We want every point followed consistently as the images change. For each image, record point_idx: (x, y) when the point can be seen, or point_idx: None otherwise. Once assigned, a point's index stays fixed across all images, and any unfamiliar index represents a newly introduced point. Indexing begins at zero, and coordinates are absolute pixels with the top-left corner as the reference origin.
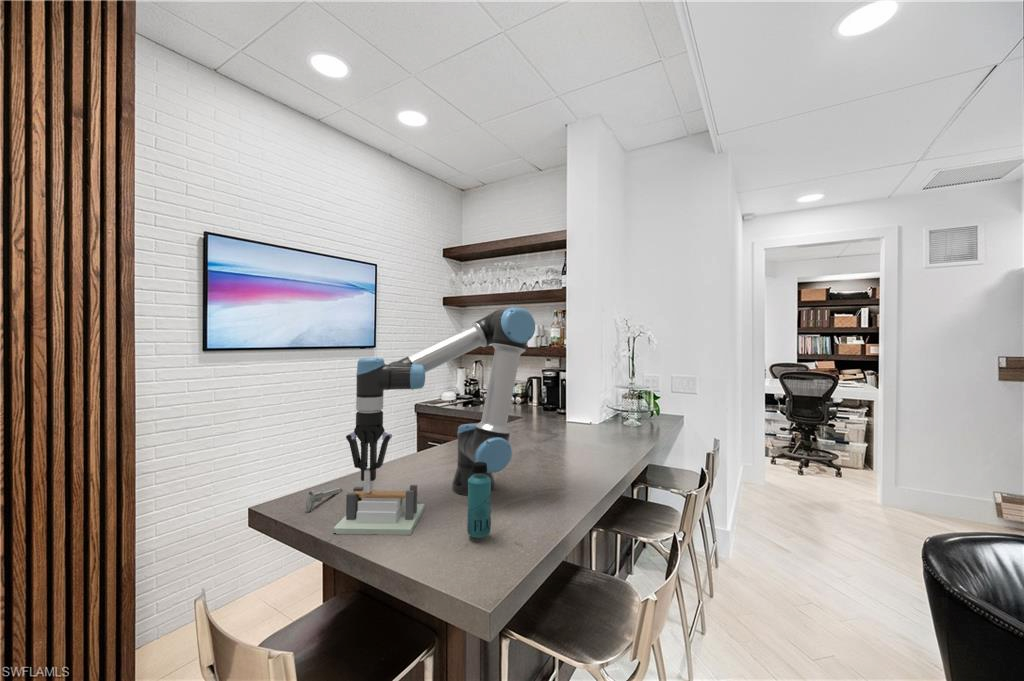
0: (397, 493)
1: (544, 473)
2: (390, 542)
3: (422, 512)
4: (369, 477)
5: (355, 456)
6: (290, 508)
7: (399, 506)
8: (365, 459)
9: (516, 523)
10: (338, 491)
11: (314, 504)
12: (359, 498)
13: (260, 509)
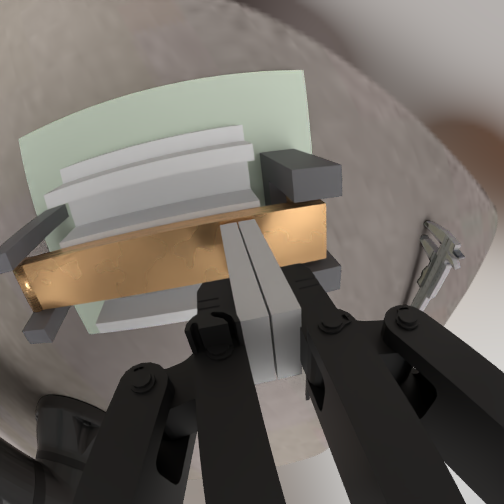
0: (73, 270)
1: None
2: (64, 68)
3: None
4: (230, 279)
5: (479, 392)
6: (460, 236)
7: (74, 229)
8: (344, 426)
9: None
10: None
11: (427, 251)
12: None
13: (494, 220)
